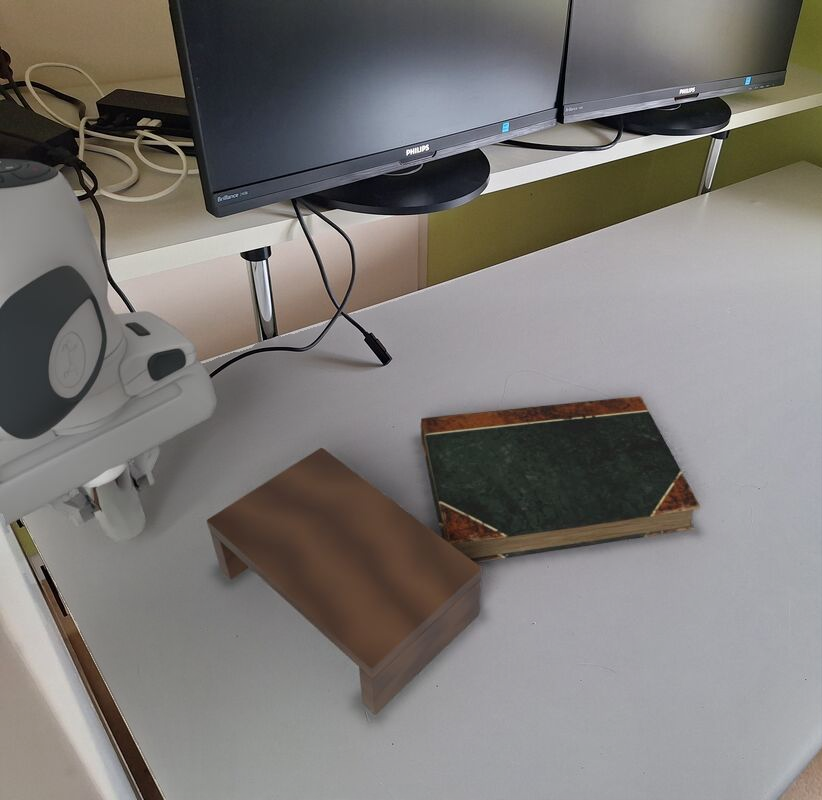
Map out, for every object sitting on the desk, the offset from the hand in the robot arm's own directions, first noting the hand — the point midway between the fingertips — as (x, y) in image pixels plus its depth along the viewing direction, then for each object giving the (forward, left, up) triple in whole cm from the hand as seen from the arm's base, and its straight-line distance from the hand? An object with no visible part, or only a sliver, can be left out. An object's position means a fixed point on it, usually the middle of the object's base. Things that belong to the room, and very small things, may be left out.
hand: (113, 500), depth 65 cm
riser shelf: (+10, -18, -6) cm, 21 cm away
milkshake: (0, 0, -4) cm, 4 cm away
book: (+33, -23, -6) cm, 40 cm away
